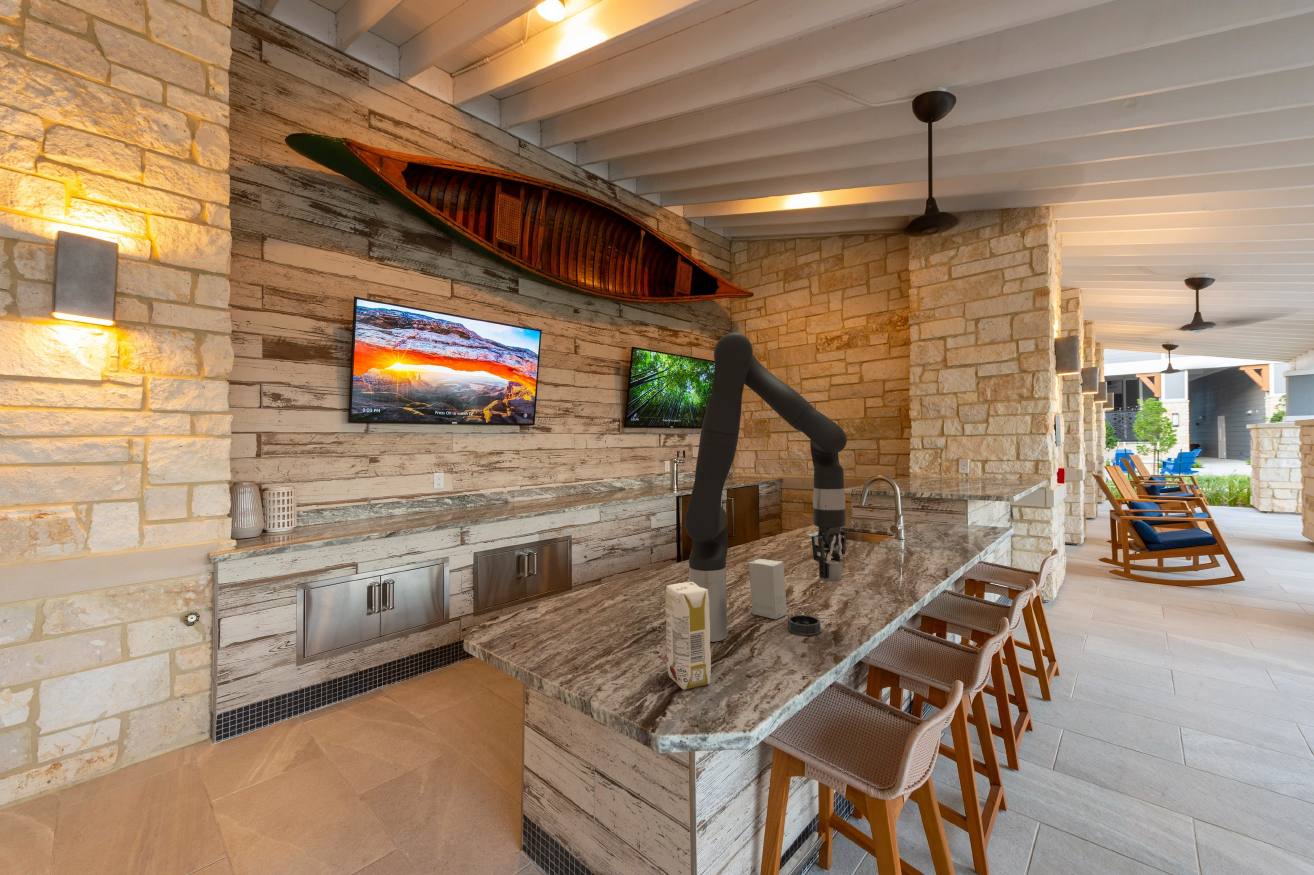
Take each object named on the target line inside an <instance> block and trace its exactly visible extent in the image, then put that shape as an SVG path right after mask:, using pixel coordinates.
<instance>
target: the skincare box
mask: <svg viewBox="0 0 1314 875" xmlns="http://www.w3.org/2000/svg"><path fill="white" fill-rule="evenodd" d="M748 570H749V585H750V598H751V600H750V601H751V614H752V615H756V616H760V617H765V618H769V619H773V620H778V619H780V618H783V617H786V616H787V615H788V609H787V596H786V594H787V593H786V581H785V580H786V579H785V567H784V561H782V560H772V559H771V560H770V559H764V558H758V559H755V560H752V561H749V562H748Z"/></svg>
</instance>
